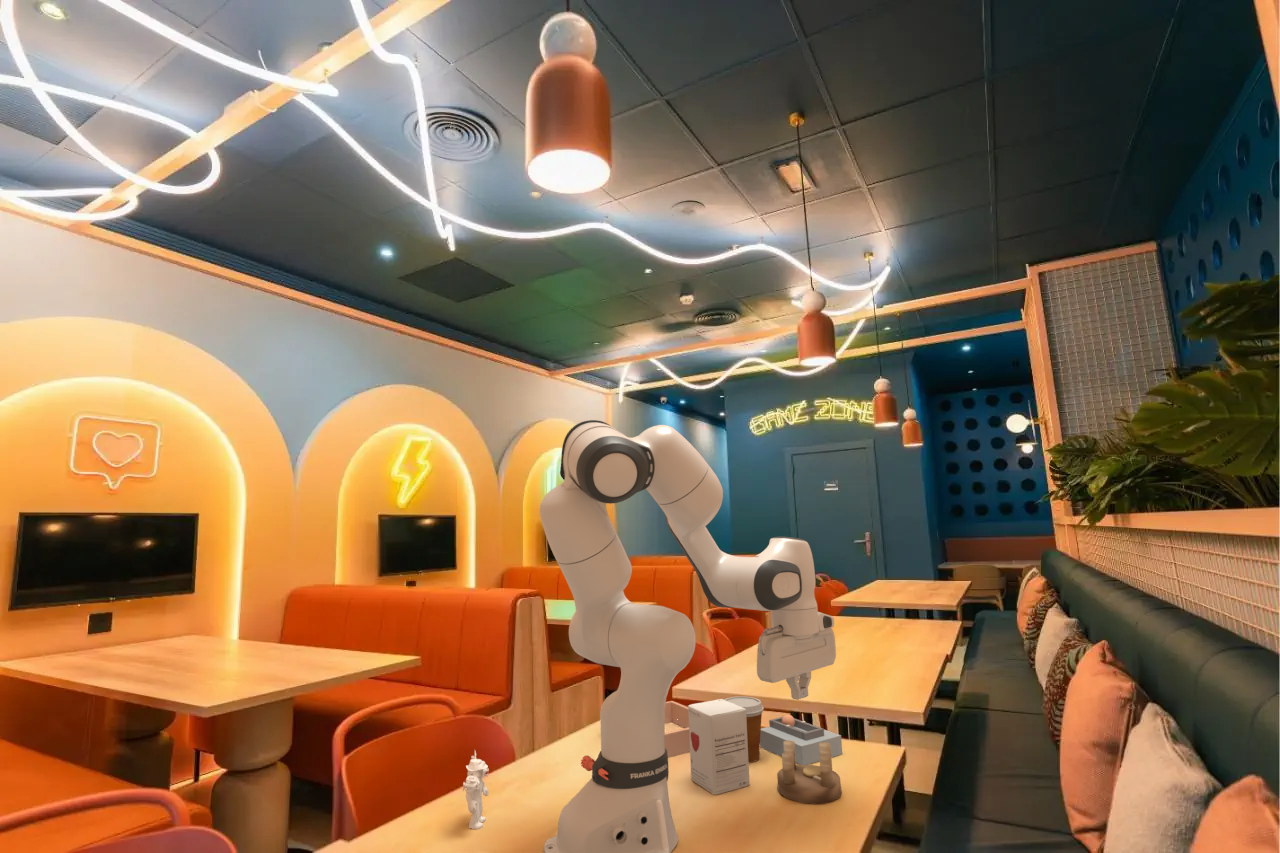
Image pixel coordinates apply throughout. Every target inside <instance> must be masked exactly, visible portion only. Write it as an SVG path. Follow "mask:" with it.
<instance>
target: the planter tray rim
mask: <svg viewBox="0 0 1280 853" xmlns="http://www.w3.org/2000/svg"><path fill="white" fill-rule="evenodd" d="M677 719H678V720H677ZM669 723H673V724H676V725H678V726H680V727H682V728H681V729H677V730H671V731H667V732H665V748H666V749H667V753H668V758H671V757H676V756H679V755H684V754H687V753H690V738H689V714H688V706H687V705H684V704H681V703H680V702H676V701H673V700H670V701H666V702H665V724H669Z"/></svg>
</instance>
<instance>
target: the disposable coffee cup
mask: <svg viewBox="0 0 1280 853" xmlns="http://www.w3.org/2000/svg"><path fill="white" fill-rule="evenodd" d="M724 700H726V701H728V702H730V703H734V704H736V705H737V706H740V707H742V708H745V709H746V720H747V742H748V762H749V763H753V762H756V761H759V759H760V750H761V749H760V748H761V747H760V733H761V729H762V717H763V716H762V714H763V711H764V706H763V704H762V700H760V699H759V698H756V697H751V696H744V695H743V696H741V695H740V696H731V697H727V698H725V699H724Z"/></svg>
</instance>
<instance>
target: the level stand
mask: <svg viewBox="0 0 1280 853" xmlns="http://www.w3.org/2000/svg"><path fill="white" fill-rule="evenodd" d="M782 718H783V716H781V717H776V718H772V719H769V720H768V723H769V726H767V727H761V733H760V748H761V749H763V750H765V751H768V752H770V753H772V754H774V755H777V756H779V757H781V758H782V754H783V753H784V741H786V740H790V741H794V743H795V759H796V765H812V764H814V763H817V762H820V748H819V743H822V742H826V743H830V744H831V758H835V757H838V756H842V755H843V744H842V743H843V742H842V735H841V734H838V733H835V732H832V731H829V730H826V729H824V728H822V727H820V726H816V725H814V724H811V723H809V722H806V721H805V720H803V721H802V720H800V719H797V718H794V717H793V718H794V720H795V724H794V726H793V727H791V726H790V725H786V724H783V723H782Z"/></svg>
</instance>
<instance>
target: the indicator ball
mask: <svg viewBox="0 0 1280 853" xmlns="http://www.w3.org/2000/svg"><path fill="white" fill-rule="evenodd" d="M782 717H783V718H782V723H783V724H786V725H790V726H791V727H793V726H794V724H795V720H794V717H793V716H792V715H791V714H785V715H782Z"/></svg>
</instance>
